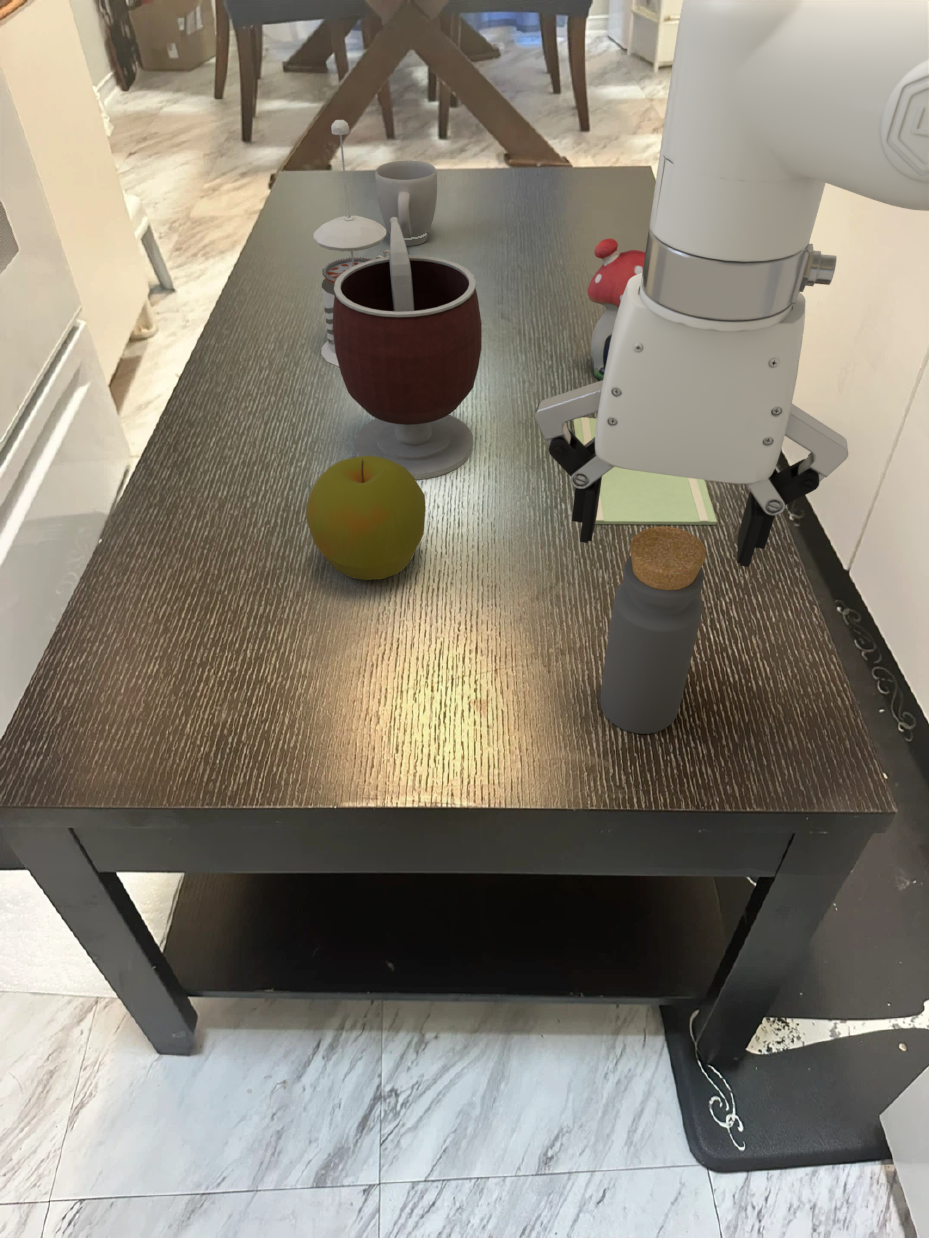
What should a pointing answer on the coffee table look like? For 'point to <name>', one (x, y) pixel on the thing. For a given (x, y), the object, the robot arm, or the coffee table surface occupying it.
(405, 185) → the mug
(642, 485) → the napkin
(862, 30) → the robot arm
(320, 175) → the coffee table surface
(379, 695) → the coffee table surface
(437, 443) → the mate gourd
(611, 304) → the decorative ornament
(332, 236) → the french press
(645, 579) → the bottle
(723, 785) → the coffee table surface
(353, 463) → the apple
